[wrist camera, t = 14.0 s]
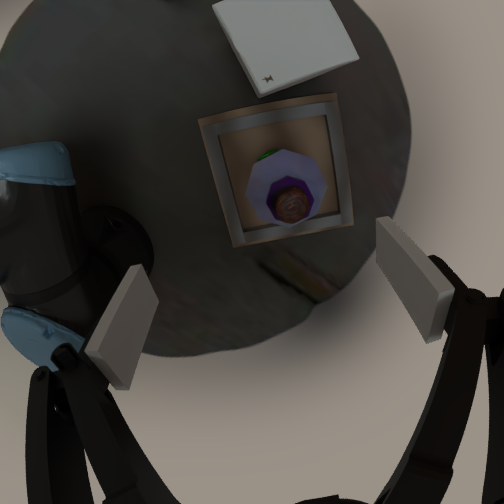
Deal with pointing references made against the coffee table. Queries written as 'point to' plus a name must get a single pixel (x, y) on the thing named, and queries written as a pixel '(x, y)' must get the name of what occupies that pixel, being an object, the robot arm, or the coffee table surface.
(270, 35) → the supplement box
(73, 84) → the coffee table surface
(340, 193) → the jig plate
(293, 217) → the potion bottle
